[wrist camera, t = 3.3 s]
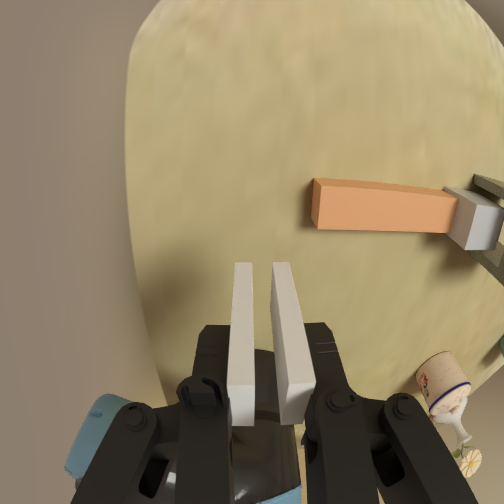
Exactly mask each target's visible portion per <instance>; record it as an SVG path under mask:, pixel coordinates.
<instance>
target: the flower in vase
mask: <svg viewBox="0 0 504 504" xmlns="http://www.w3.org/2000/svg"><path fill="white" fill-rule="evenodd" d="M466 403H467V397H465V398H464V400H463V402H462V404H461V405H460V408H461V409H460V411H459V412H457V413H456V414H454V415H452V414H451V412H449V413H442V414H440V415H434V417H433V420H434V421H435V422H439V423H449V424H452V425H453V426H454V428H455V431H456V434H457V447H458V446H460V445H462V449H461V450H460V449H457V450H455V451H454V452H453V453H452V454H451V455H452V456H453V457H455V458H457V457H459V455H460V454H461V456H462V450H463V444H464V443H465V442H467V441H468V440H469V439H471V438H472V436H470V435H468V434H467V433H466V431H465V430H464V428H463V427H462V424H461V420H460V418H461V415H462V413H463V410H464V408H465V406H466ZM464 448H475V447H473V446H467V447H464ZM462 458H463V459H462V461H461V465H460V466H459V469H460V470H461V472H462V474H463V476H464V477H466V478H467V477H471V475H472V473H475V472H476V469H478V468H479V465H480V464H481V461H480V460H481V459H482V457H481V453H480V452H479V450H478V449H477V450H474V451H473V450H471V451H470V452H469V453H468V454H467V456H465V457H463V456H462Z"/></svg>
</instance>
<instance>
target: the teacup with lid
mask: <svg viewBox="0 0 504 504" xmlns="http://www.w3.org/2000/svg"><path fill="white" fill-rule="evenodd" d="M416 380H417V383H418V385H419V387H420V389H421V391H422V394H423V396H424V398H425V400H426V403H427V405H428V407H429V413H430V414H431V415H440V414H442V413H449V412H451V414H452V415H454V414H456V413H457V412H459V411H460V409H461V408H460V405H461V404H462V402H463V400H464V398H465V397H466V396H467V395H468V394H469V392H470V390H471V384H470V383H469V382H468V381H467V379H466V378H465V376H464V374H463V372H462V370H461V369H460V367H459V365H458V364H457V362H456V360H455V358H454V357H453V355H452V354H451V353H450V352H442V353H439V354H437V355H435V356H433V357H432V358H430V359H429V360H427V361H426V362H425V363H424V364H423V365H422V366H421V367H420V368H419V370H418V371H417V373H416Z"/></svg>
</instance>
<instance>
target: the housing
mask: <svg viewBox="0 0 504 504" xmlns="http://www.w3.org/2000/svg"><path fill="white" fill-rule="evenodd" d="M473 184H475V185H477V186H479V187H481V188H483V189H485V190H487V191H489V192H491V193H493V194H495V195H496V196H498V197H500V198H502V199H504V182H501V181H498V180H495V179H491V178H488V177H484V176H480V175H476V174H474V179H473ZM466 251H467V252H468V253H469V254H470V255H471V256H472V257H474V258H475V259H476V260H477V261H478V262H479V263H480V264H481V265H482V266H483V267H484V268H486V269H487V270H488V271H489V272H490V273H491V274H492V275H493V276H494V277H495V278H496V279H497V280H498V281H499V282H500V283H501V284H502V285H503V286H504V245H502V244H501V243H500V242H499V241H498V242H497V245H496V248H495V250H466Z"/></svg>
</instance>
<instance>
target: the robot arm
mask: <svg viewBox="0 0 504 504" xmlns="http://www.w3.org/2000/svg"><path fill="white" fill-rule="evenodd" d="M270 312H271V322H272V333H273V343H274V353H273V352H269V351H263V350H254V322H253V279H252V262H235V274H234V287H233V300H232V314H231V325H206V326H205V327H204V329H203V330H202V331H201V333H200V334H199V338H198V344H197V349H196V356H195V360H194V366H193V372H192V376H190V377H188V378H185V379H184V380H183V381H182V382H181V383H180V384H179V386H178V388H177V391H176V393H177V395H178V398H179V401H180V402H178V403H176V404H174V405H171V406H166V407H161V408H154V409H152V408H151V407H150V406H148V405H146V404H144V403H139V402H132V401H130V400H127V399H124V398H122V397H119V396H116V395H113V394H104V395H102V396H100V397H99V398H98V399H97V400H96V401H95V403H94V404H93V406H92V407H91V409H90V411H89V413H88V414H87V416H86V418H85V420H84V422H83V424H82V426H81V428H80V430H79V432H78V434H77V436H76V439H75V441H74V443H73V445H72V447H71V450H70V452H69V454H68V457H67V460H66V464H65V467H64V470H65V471H66V472H67V473H68V474H69V475H70V476H72V477H73V478H75V479H76V482H75V490H76V493H75V495H74V497H73V499H72V501H71V504H301V488H302V484H301V479H300V470H299V462H298V454H297V446H296V438H295V431H294V424H302V423H303V420H304V419H305V426H306V430H305V433H304V435H303V437H302V440H301V445H304V447H305V463H306V480H307V503H308V504H379V497H378V490H379V492H380V494H381V496H382V498H383V501H384V503H385V504H478V502H477V500H476V498H475V496H474V494H473V492H472V490H471V488H470V487H469V485H468V483H467V481H466V479H465V477H464V476H463V474H462V472H461V470H460V469H459V467H458V465H457V463H456V462H455V460H454V458H453V456H452V455H451V453H450V451H449V450H448V448H447V446H446V445H445V443H444V441H443V440H442V438H441V436H440V435H439V433H438V432H437V430H436V428H435V427H434V425H433V423H432V422H431V420H430V419H429V417H428V416H427V414H426V412H425V411H424V409H423V408H422V406H421V405H420V403H419V402H418V401H417V400H416V399H415V397H413V396H411V395H409V394H407V393H397V394H393V395H392V396H390V397H389V398H388V399H387V401H384V400H375V399H368V398H363V397H361V396H359V395H357V394H356V393H355V392H354V391H353V390H352V389H351V388H350V387H349V385H348V382H347V379H346V376H345V372H344V369H343V366H342V362H341V359H340V356H339V353H338V349H337V346H336V344H335V340H334V337H333V334H332V331H331V330H330V329H329V328H328V327H327V325H326V324H325V323H324V322H321V323H303V319H302V315H301V310H300V306H299V302H298V298H297V293H296V289H295V285H294V281H293V277H292V273H291V269H290V264H289V262H272V283H271V302H270ZM377 488H378V490H377Z"/></svg>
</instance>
